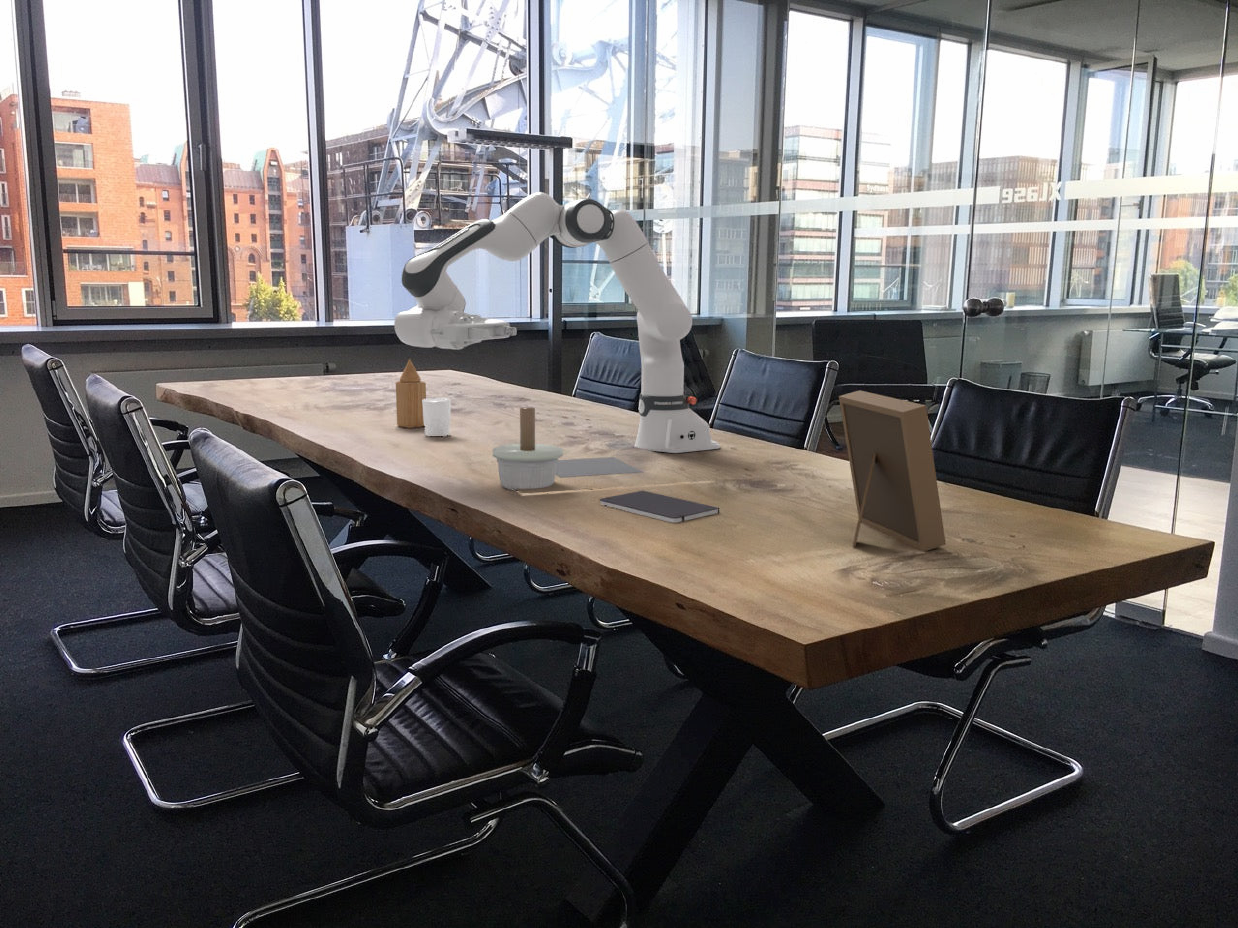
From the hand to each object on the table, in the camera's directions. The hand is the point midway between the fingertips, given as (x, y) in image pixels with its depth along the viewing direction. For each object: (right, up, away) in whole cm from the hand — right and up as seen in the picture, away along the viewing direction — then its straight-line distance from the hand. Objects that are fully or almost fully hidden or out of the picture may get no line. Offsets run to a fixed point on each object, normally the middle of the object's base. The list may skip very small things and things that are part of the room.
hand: (502, 332), depth 235 cm
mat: (+19, -31, +10) cm, 38 cm away
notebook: (+34, -39, -29) cm, 59 cm away
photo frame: (+72, -43, -49) cm, 97 cm away
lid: (+7, -28, -11) cm, 30 cm away
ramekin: (+6, -35, -9) cm, 37 cm away
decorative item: (-35, -19, +72) cm, 82 cm away
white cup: (-25, -22, +56) cm, 65 cm away
